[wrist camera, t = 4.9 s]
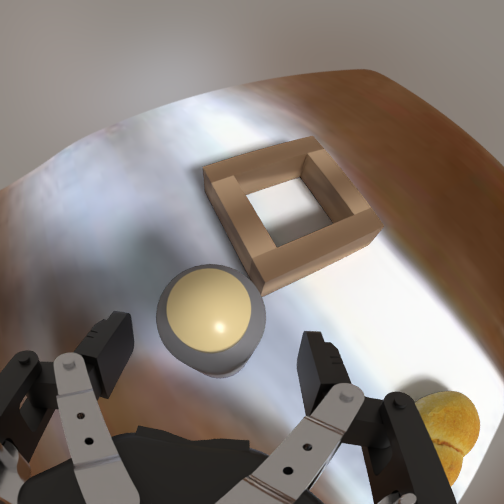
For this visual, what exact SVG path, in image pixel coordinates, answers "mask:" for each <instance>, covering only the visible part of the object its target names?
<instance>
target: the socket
mask: <svg viewBox="0 0 504 504" xmlns="http://www.w3.org/2000/svg"><path fill="white" fill-rule="evenodd" d="M203 175H204V186H205V192H206V194H207V196H208V198H209V200H210V202H211V204H212V206H213V208H214V210H215V212H216V214H217V216H218V218H219V220H220V222H221V224H222V225H223V227H224V229H225V231H226V233H227V235H228V237H229V239H230V241H231V243H232V245H233V247H234V249H235V251H236V253H237V254H238V256H239V258H240V260H241V262H242V264H243V266H244V268H245V270H246V272H247V274H248V276H249V277H250V279H251V281H252V283H253V284H254V285H255V286H256V288H257V289H258V291H259V292H260V294H261V297H263V296H265V295H267V294H270V293H272V292H274V291H276V290H278V289H280V288H282V287H285V286H287V285H289V284H291V283H293V282H295V281H297V280H299V279H301V278H303V277H306V276H308V275H310V274H312V273H314V272H316V271H318V270H320V269H322V268H324V267H326V266H328V265H330V264H332V263H334V262H336V261H338V260H340V259H342V258H344V257H346V256H348V255H350V254H352V253H354V252H356V251H358V250H360V249H362V248H364V247H366V246H368V245H369V244H370V243H371V242H372V240H373V239H374V238H375V237H376V236H377V234H378V233H379V232H380V231H381V230H382V228H383V227H384V225H383V223H382V222H381V221H380V219H379V218H378V216H377V215H376V214H375V212H374V211H373V210H372V208H371V207H370V205H369V204H368V203H367V201H366V200H365V199H364V197H363V196H362V195H361V194H360V192H359V191H358V190H357V188H356V187H355V186H354V185H353V183H352V182H351V181H350V179H349V178H348V177H347V176H346V174H345V173H344V172H343V171H342V169H341V168H340V167H339V166H338V165H337V163H336V162H335V161H334V160H333V159H332V157H331V156H330V155H329V154H328V153H327V152H326V150H325V149H324V148H323V147H322V146H321V145H320V143H319V142H318V141H317V140H316V139H315V138H314V137H313V136H310V137H306V138H301V139H297V140H293V141H289V142H285V143H282V144H278V145H274V146H270V147H267V148H263V149H259V150H256V151H252V152H249V153H245V154H242V155H239V156H235V157H232V158H229V159H226V160H222V161H219V162H216V163H213V164H210V165H207V166H204V167H203ZM298 177H301V179H302V180H303V181H304V183H305V184H306V185H307V187H308V188H309V190H310V191H311V192H312V194H313V195H314V196H315V198H316V199H317V201H318V202H319V203H320V205H321V206H322V208H323V209H324V211H325V212H326V213H327V215H328V216H329V218H330V219H331V221H332V222H333V224H331V225H329V226H327V227H324V228H322V229H320V230H317V231H315V232H313V233H310V234H308V235H306V236H303V237H301V238H299V239H296V240H294V241H291V242H289V243H287V244H284V245H282V246H280V247H276V245H275V244H274V242H273V240H272V239H271V237H270V235H269V234H268V232H267V230H266V228H265V227H264V225H263V223H262V222H261V220H260V218H259V217H258V215H257V213H256V212H255V210H254V208H253V207H252V205H251V203H250V202H249V200H248V198H247V197H246V195H247V194H250V193H253V192H256V191H259V190H262V189H265V188H268V187H271V186H274V185H277V184H280V183H283V182H286V181H289V180H292V179H295V178H298Z"/></svg>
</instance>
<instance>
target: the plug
mask: <svg viewBox="0 0 504 504" xmlns="http://www.w3.org/2000/svg"><path fill="white" fill-rule="evenodd" d="M156 322H157V328H158V332H159V335H160V338H161V340H162V342H163V344H164V345H165V347H166V348H167V349H168V350H169V352H170V353H171V354H172V355H173V356H174V357H176V358H177V359H178V360H180V361H181V362H183V363H184V364H186V365H188V366H190V367H192V368H193V369H195V370H197V371H199V372H201V373H203V374H205V375H207V376H210V377H213V378H227V377H230V376H233V375H235V374H236V373H238V372H239V371H240V370H241V369H242V368H243V367H244V366H245V364H246V363H247V361H248V360H249V358H250V357H251V355H252V353H253V352H254V350H255V349H256V347H257V345H258V344H259V342H260V340H261V338H262V336H263V333H264V329H265V323H266V311H265V305H264V302H263V299H262V297H261V294H260V292H259V291H258V289H257V288H256V286H255V285H254V284H253V283H252V282H251V281H250V280H249V279H248V278H247V277H246V276H245V275H243V274H242V273H240V272H238V271H237V270H235V269H232V268H230V267H226V266H223V265H215V264H207V265H200V266H195V267H193V268H190V269H188V270H185V271H183V272H182V273H180V274H179V275H177V276H176V277H175V278H174V279H173V280H172V281H171V282H170V283H169V284H168V285H167V286H166V288H165V289H164V291H163V293H162V295H161V297H160V299H159V302H158V306H157V313H156Z"/></svg>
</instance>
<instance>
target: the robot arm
mask: <svg viewBox="0 0 504 504" xmlns="http://www.w3.org/2000/svg"><path fill="white" fill-rule="evenodd" d="M133 349H134V336H133V329H132V320H131V315H130V314H129V313H125V312H118V311H114V312H113V313H112V314H111V315H110V317H109V318H108V319H107V320H105V319H103V320H102V321H100V322H98V323H97V324H95V325H94V327H93V328H92V329H91V332H89V333H88V334H87V337H85V338H84V339H83V341H82V342H81V343H80V344H79V346H78V347H77V348H76V350H75V351H74V352H73V353H64V354H62V355H60V356H58V357H57V358H56V359H55V361H54V362H40V361H39V358H38V356H37V354H36V353H35V352H33V351H22V352H19V353H17V354H16V355H15V356H14V357H13V358H12V359H11V360H10V362H9V363H8V364H7V365H6V366H5V368H4V369H3V370H2V371H1V373H0V504H324V503H323V502H322V501H321V500H320V499H318V498H317V497H316V496H315V495H314V494H313V493H311V492H310V489H311V488H312V487H313V485H314V484H315V482H316V481H317V480H318V478H319V477H320V475H321V474H322V472H323V471H324V469H325V468H326V466H327V465H328V464H329V462H330V461H331V459H332V458H333V456H334V455H335V453H336V452H337V450H338V448H339V447H340V445H341V444H342V443H346V444H352V445H359V446H361V447H362V451H363V455H364V460H365V464H366V468H367V473H368V477H369V482H370V486H371V491H372V496H373V501H374V504H457V503H456V500H455V497H454V494H453V492H452V489H451V486H450V484H449V481H448V478H447V476H446V473H445V471H444V468H443V466H442V463H441V461H440V458H439V456H438V454H437V451H436V449H435V447H434V444H433V442H432V440H431V437H430V435H429V433H428V431H427V428H426V426H425V424H424V422H423V420H422V417H421V415H420V413H419V411H418V409H417V407H416V405H415V403H414V401H413V399H412V398H411V397H410V396H408V395H407V394H405V393H402V392H391V393H389V394H387V395H386V396H385V398H384V400H380V399H373V398H368V397H365V396H364V393H363V391H362V390H361V389H360V388H359V387H357V386H355V385H353V384H351V381H350V378H349V376H348V373H347V371H346V368H345V366H344V364H343V361H342V358H341V356H340V354H339V351H338V349H337V348H336V347H335V346H334V345H333V344H332V343H331V342H324V339H323V336H322V334H321V332H316V331H304V333H303V336H302V340H301V345H300V349H299V354H298V358H297V372H298V377H299V382H300V387H301V393H302V398H303V403H304V408H305V414H306V416H305V417H304V418H303V419H302V420H301V422H300V423H299V424H298V425H297V426H296V427H295V429H294V430H293V431H292V432H291V433H290V434H289V435H288V437H287V438H286V439H285V440H284V441H283V442H282V443H281V444H280V445H279V446H278V448H277V449H276V450H275V451H274V452H273V453H272V454H271V455H270V456H269V455H267V454H265V453H263V452H261V451H258V450H255V449H252V448H249V440H234V439H211V440H198V441H191V440H187V439H185V438H182V437H179V436H176V435H174V434H171V433H169V432H166V431H163V430H158V429H153V428H148V427H143V426H138V428H137V431H136V433H124V434H120V435H116V436H113V437H111V436H110V434H109V431H108V429H107V426H106V424H105V421H104V419H103V416H102V414H101V411H100V408H99V406H98V403H97V400H98V398H99V397H103V398H107V399H109V397H110V395H111V393H112V391H113V389H114V387H115V385H116V383H117V381H118V379H119V377H120V375H121V373H122V371H123V369H124V367H125V365H126V364H127V362H128V360H129V358H130V356H131V354H132V352H133ZM25 395H26V396H27V399H26V400H25V402H24V404H23V405H22V407H21V408H20V409H19V407H20V403H21V401H22V400H23V398H24V397H25ZM55 409H59V412H60V417H61V421H62V425H63V429H64V433H65V437H66V441H67V444H68V448H69V451H70V454H71V457H72V458H71V459H69V460H67V461H65V462H63V463H61V464H59V465H57V466H55V467H52V468H50V469H48V470H46V471H44V472H42V473H40V474H37V475H35V476H33V477H31V478H30V476H31V468H30V465H29V462H30V459H31V457H32V455H33V453H34V451H35V449H36V447H37V444H38V442H39V440H40V438H41V436H42V434H43V432H44V430H45V428H46V426H47V424H48V422H49V420H50V418H51V417H52V415H53V413H54V411H55Z"/></svg>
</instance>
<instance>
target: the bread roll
mask: <svg viewBox="0 0 504 504" xmlns="http://www.w3.org/2000/svg"><path fill="white" fill-rule="evenodd" d="M415 405H416V407H417V409H418V411H419V413H420V415H421V417H422V420H423V422H424V424H425V426H426V428H427V431H428V433H429V435H430V437H431V440H432V442H433V444H434V447H435V449H436V451H437V454H438V456H439V458H440V461H441V463H442V466H443V468H444V471H445V473H446V476H447V478H448V481H449V484H450V486H452V485H453V484H454V482H455V481H456V479H457V478H458V476H459V473H460V471H461V467H462V461H463V457H464V456H465V455H466V454H467V453H468V452H469V451H471V449H472V448H473V446H474V445H475V443H476V441H477V439H478V436H479V431H480V420H479V416H478V413H477V410H476V408H475V406H474V404H473V403H472V401H471V400H470V399H469V398H468V397H467V396H465V395H463V394H462V393H459V392H455V391H445V392H437V393H434V394H430V395H428V396H425V397H423V398H421V399H419V400H418V401H417V402H415Z"/></svg>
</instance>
